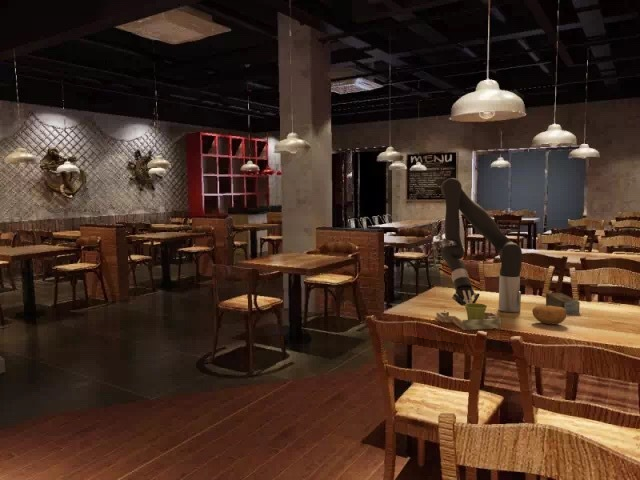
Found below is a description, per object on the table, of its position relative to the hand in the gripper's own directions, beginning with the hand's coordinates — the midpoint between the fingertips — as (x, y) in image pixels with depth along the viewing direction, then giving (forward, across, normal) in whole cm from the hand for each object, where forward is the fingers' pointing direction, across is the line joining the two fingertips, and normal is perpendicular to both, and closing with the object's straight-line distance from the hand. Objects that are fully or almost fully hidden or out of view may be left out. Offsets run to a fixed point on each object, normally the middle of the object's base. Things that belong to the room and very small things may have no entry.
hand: (470, 312), depth 228 cm
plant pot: (+6, 0, 0) cm, 6 cm away
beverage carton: (-9, +54, +16) cm, 57 cm away
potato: (+8, +33, -2) cm, 34 cm away
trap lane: (+2, 0, +4) cm, 4 cm away
